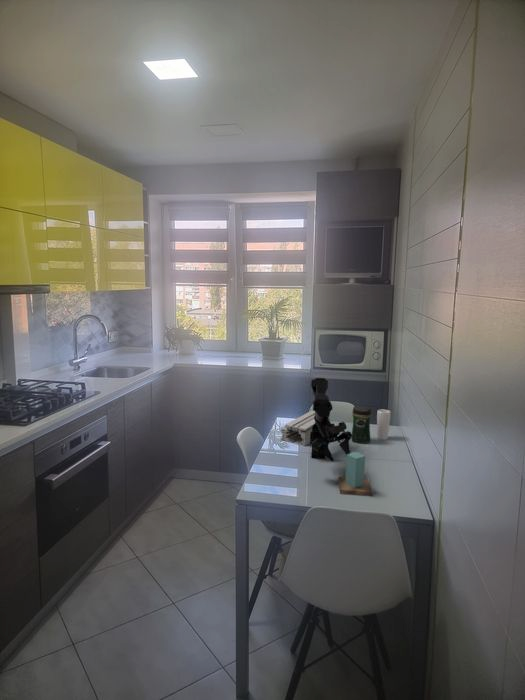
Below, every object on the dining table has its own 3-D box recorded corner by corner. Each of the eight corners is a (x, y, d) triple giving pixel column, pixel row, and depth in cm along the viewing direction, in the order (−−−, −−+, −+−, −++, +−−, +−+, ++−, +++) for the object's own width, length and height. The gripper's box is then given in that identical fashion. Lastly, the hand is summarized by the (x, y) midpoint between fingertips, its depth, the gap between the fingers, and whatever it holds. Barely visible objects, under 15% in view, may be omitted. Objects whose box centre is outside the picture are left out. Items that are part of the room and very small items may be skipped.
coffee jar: (370, 439, 224) (372, 405, 222) (368, 444, 217) (371, 409, 214) (352, 437, 228) (354, 403, 225) (349, 442, 220) (351, 407, 218)
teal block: (354, 487, 167) (356, 458, 165) (345, 482, 171) (346, 454, 169) (363, 484, 169) (365, 456, 168) (354, 480, 173) (356, 451, 172)
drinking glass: (386, 441, 222) (388, 413, 220) (374, 438, 226) (375, 411, 224) (390, 437, 228) (392, 410, 226) (377, 435, 231) (379, 408, 229)
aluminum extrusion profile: (279, 440, 221) (280, 422, 220) (306, 425, 247) (306, 408, 245) (304, 446, 214) (305, 427, 212) (329, 430, 239) (330, 412, 238)
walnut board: (339, 493, 165) (340, 489, 165) (338, 479, 177) (338, 476, 177) (371, 495, 164) (371, 492, 163) (367, 481, 175) (368, 478, 175)
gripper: (317, 419, 172) (334, 454, 165) (350, 412, 183) (368, 445, 175) (304, 432, 180) (320, 466, 173) (336, 425, 190) (353, 457, 183)
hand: (341, 458), depth 176 cm, fingers open, 9 cm apart
